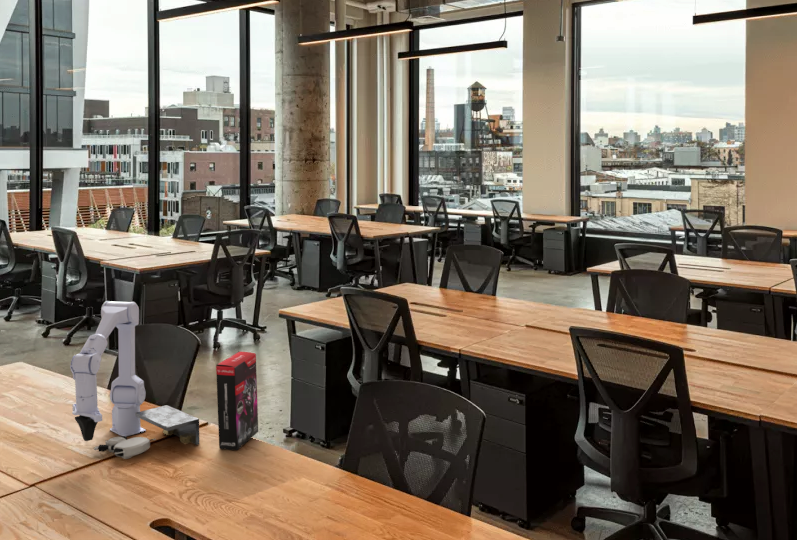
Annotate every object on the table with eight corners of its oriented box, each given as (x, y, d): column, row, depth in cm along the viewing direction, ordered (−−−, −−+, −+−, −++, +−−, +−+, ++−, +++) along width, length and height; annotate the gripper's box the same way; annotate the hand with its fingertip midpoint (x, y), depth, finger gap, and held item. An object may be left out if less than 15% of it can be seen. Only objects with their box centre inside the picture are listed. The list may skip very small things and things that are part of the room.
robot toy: (91, 458, 225) (126, 464, 218) (89, 443, 225) (125, 449, 218) (123, 445, 236) (158, 450, 229) (122, 431, 235) (157, 436, 228)
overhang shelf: (136, 437, 240) (135, 412, 239) (167, 429, 248) (166, 405, 247) (168, 453, 227) (167, 427, 226) (199, 443, 235) (199, 418, 234)
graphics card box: (237, 452, 229) (236, 365, 226) (216, 450, 231) (215, 363, 227) (258, 432, 246) (258, 352, 242) (238, 431, 247) (238, 350, 244)
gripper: (61, 392, 218) (63, 437, 220) (84, 403, 208) (86, 450, 210) (85, 387, 223) (86, 431, 225) (108, 397, 213) (110, 443, 215)
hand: (88, 439), depth 218 cm, fingers closed
